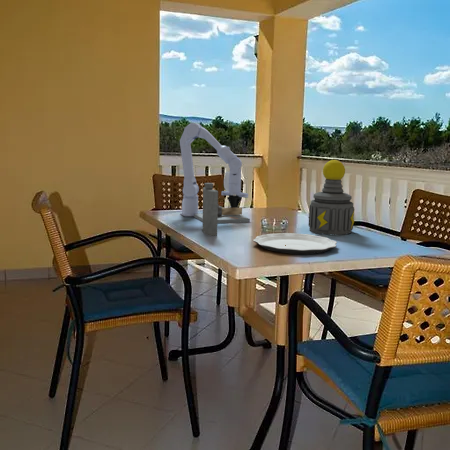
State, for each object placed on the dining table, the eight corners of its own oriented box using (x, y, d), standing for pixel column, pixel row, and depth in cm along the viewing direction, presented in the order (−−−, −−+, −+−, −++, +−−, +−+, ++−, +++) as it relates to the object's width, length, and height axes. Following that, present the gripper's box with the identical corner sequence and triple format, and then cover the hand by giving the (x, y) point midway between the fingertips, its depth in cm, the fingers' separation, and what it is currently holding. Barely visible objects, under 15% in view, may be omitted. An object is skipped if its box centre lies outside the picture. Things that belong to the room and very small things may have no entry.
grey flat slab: (193, 216, 248) (193, 213, 248) (236, 215, 256) (236, 212, 255) (205, 223, 230) (205, 219, 230) (251, 222, 237) (251, 218, 237)
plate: (271, 258, 168) (271, 251, 168) (243, 240, 196) (243, 234, 195) (351, 254, 176) (352, 247, 176) (313, 238, 204) (314, 232, 204)
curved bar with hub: (204, 216, 238) (204, 205, 237) (201, 214, 243) (201, 204, 242) (243, 215, 244) (243, 204, 243) (239, 213, 249) (239, 203, 248)
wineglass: (219, 212, 264) (220, 171, 260) (235, 211, 268) (236, 171, 264) (226, 215, 256) (228, 172, 253) (242, 214, 260) (243, 172, 256)
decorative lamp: (343, 237, 206) (348, 161, 201) (300, 231, 216) (304, 159, 211) (359, 230, 222) (364, 160, 216) (318, 225, 231) (321, 158, 226)
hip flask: (217, 236, 202) (219, 184, 198) (207, 236, 201) (208, 184, 197) (209, 228, 217) (210, 181, 214) (199, 229, 216) (200, 181, 213)
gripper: (217, 182, 248) (217, 210, 250) (242, 184, 239) (241, 213, 241) (226, 181, 253) (226, 209, 255) (251, 183, 244) (250, 212, 247)
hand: (234, 211), depth 249 cm, fingers closed
